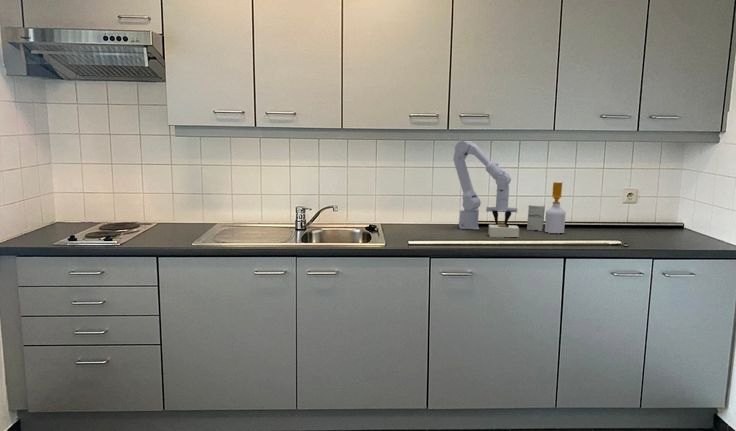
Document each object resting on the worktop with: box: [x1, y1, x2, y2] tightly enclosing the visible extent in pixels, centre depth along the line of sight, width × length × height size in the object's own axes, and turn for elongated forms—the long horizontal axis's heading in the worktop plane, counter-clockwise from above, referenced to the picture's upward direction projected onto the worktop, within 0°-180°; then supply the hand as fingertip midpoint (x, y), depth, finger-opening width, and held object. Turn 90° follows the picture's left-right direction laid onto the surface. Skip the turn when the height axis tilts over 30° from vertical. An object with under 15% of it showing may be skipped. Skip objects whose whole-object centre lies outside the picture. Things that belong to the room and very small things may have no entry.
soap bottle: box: [544, 181, 566, 235], centre depth 266 cm, size 9×9×25 cm
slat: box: [498, 221, 507, 228], centre depth 267 cm, size 4×12×4 cm, turn 173°
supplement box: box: [526, 203, 546, 232], centre depth 274 cm, size 7×7×13 cm
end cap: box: [487, 224, 520, 238], centre depth 257 cm, size 13×7×4 cm, turn 83°
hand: (500, 226), depth 267 cm, fingers closed on slat, 3 cm apart
